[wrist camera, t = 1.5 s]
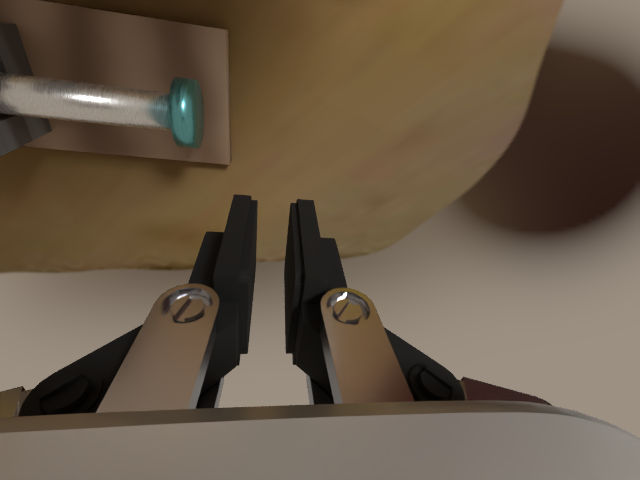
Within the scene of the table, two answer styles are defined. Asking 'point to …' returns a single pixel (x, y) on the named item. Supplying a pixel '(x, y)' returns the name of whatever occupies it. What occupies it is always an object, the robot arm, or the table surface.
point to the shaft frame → (114, 75)
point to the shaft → (109, 104)
